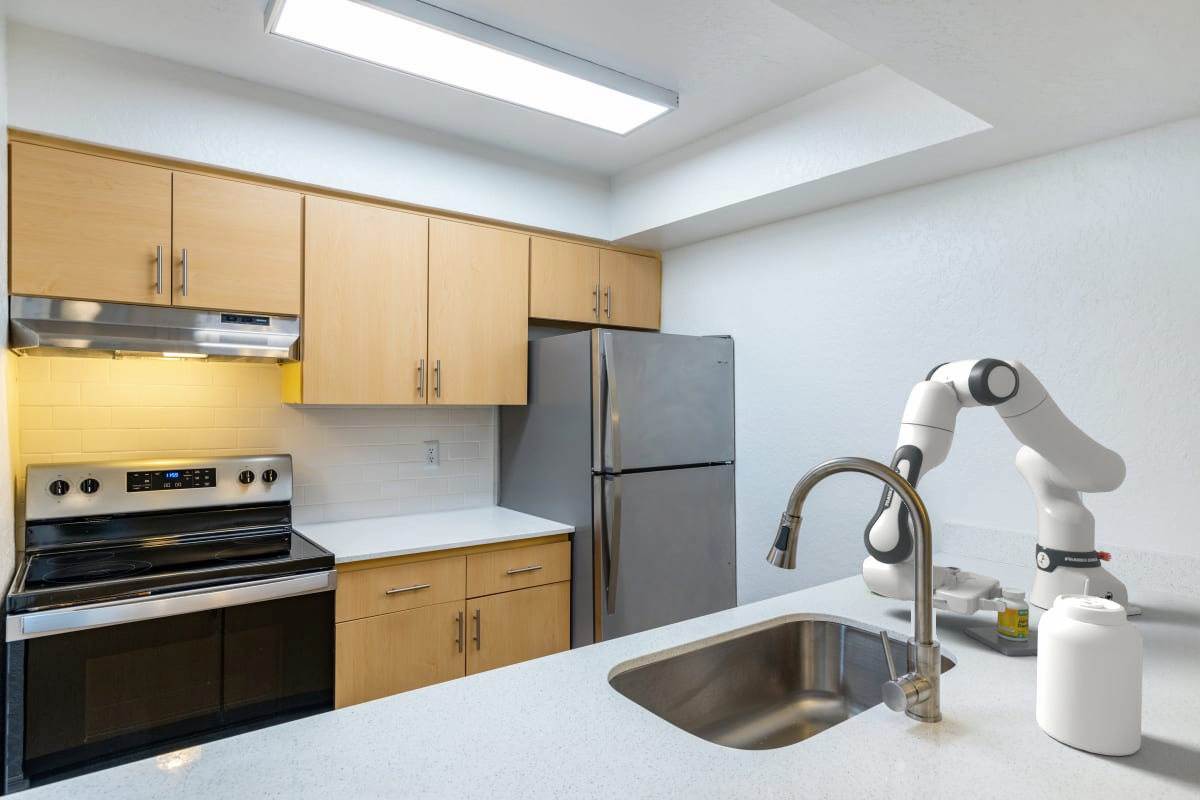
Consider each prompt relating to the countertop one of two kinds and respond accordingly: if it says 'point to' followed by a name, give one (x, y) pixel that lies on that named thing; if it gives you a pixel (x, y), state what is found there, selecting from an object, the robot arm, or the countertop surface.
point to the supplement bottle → (1014, 615)
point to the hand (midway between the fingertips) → (1012, 602)
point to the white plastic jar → (1090, 675)
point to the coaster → (1005, 641)
